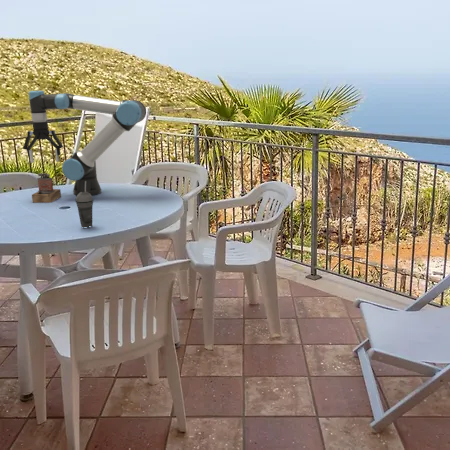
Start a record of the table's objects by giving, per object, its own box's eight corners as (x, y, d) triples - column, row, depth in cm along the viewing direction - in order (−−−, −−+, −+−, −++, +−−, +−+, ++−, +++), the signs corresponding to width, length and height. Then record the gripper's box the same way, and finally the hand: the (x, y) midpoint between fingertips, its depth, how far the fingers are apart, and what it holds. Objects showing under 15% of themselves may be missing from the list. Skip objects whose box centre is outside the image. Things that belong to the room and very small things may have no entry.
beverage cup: (79, 224, 223) (75, 179, 217) (96, 224, 223) (92, 179, 218) (76, 229, 216) (72, 183, 210) (94, 228, 216) (90, 182, 211)
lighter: (54, 191, 272) (52, 172, 269) (52, 192, 269) (50, 173, 266) (40, 191, 273) (38, 172, 270) (37, 192, 270) (35, 173, 267)
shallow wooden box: (61, 196, 278) (60, 189, 277) (51, 202, 265) (50, 194, 264) (43, 196, 279) (42, 189, 278) (32, 202, 265) (31, 194, 264)
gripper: (65, 120, 268) (70, 160, 273) (18, 121, 267) (24, 161, 273) (61, 121, 260) (66, 162, 266) (13, 122, 260) (18, 163, 266)
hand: (45, 162), depth 270 cm, fingers open, 13 cm apart
